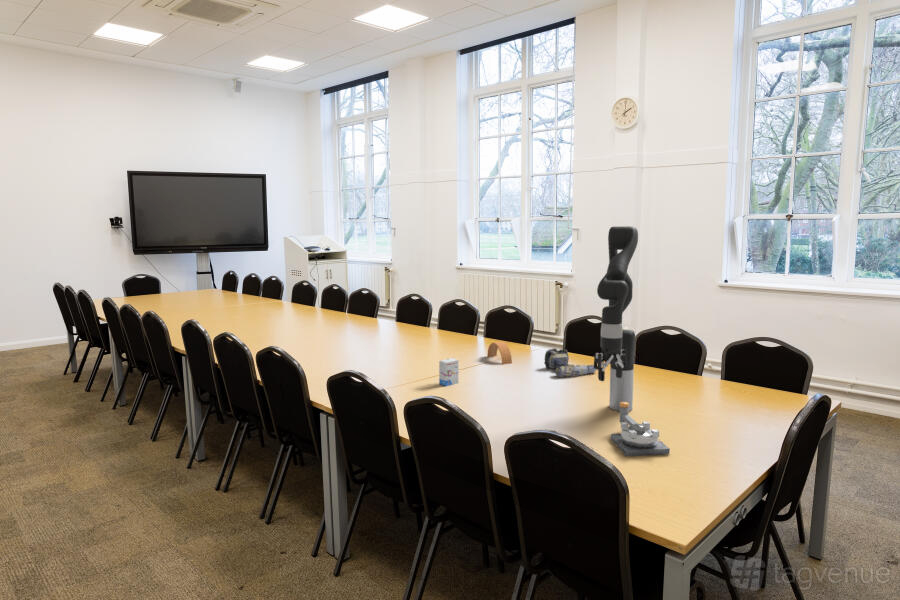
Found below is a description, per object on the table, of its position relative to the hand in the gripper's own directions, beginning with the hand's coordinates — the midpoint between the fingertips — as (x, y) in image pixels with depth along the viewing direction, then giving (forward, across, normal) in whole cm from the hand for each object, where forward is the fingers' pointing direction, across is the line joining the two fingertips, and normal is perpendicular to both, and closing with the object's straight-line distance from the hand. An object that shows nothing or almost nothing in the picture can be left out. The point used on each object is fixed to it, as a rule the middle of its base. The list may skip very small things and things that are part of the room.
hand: (610, 379), depth 211 cm
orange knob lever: (+18, +2, -10) cm, 21 cm away
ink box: (+20, -19, +88) cm, 92 cm away
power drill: (+20, +42, +74) cm, 88 cm away
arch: (+19, +28, +114) cm, 119 cm away
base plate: (+21, 0, -15) cm, 25 cm away
